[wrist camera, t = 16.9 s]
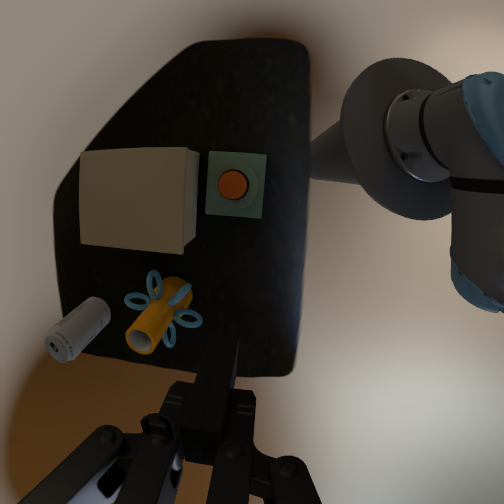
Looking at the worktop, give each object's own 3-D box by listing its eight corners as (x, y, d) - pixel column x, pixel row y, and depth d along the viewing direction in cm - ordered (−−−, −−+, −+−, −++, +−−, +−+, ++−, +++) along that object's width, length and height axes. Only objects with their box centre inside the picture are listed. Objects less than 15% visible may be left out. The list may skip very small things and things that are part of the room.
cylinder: (177, 245, 43) (136, 279, 29) (223, 293, 45) (203, 345, 30) (133, 290, 46) (88, 333, 31) (174, 332, 47) (144, 387, 33)
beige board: (188, 147, 30) (186, 147, 30) (183, 252, 34) (181, 254, 33) (83, 152, 31) (80, 151, 30) (83, 242, 35) (80, 243, 34)
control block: (266, 155, 39) (266, 153, 35) (261, 216, 41) (260, 220, 38) (211, 152, 39) (206, 150, 36) (207, 212, 41) (202, 215, 38)
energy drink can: (102, 327, 49) (62, 370, 34) (83, 304, 48) (38, 342, 33) (118, 313, 47) (76, 357, 33) (97, 288, 46) (49, 326, 32)
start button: (248, 172, 37) (247, 172, 35) (246, 199, 38) (245, 200, 36) (221, 170, 37) (219, 170, 35) (219, 197, 38) (217, 198, 36)
